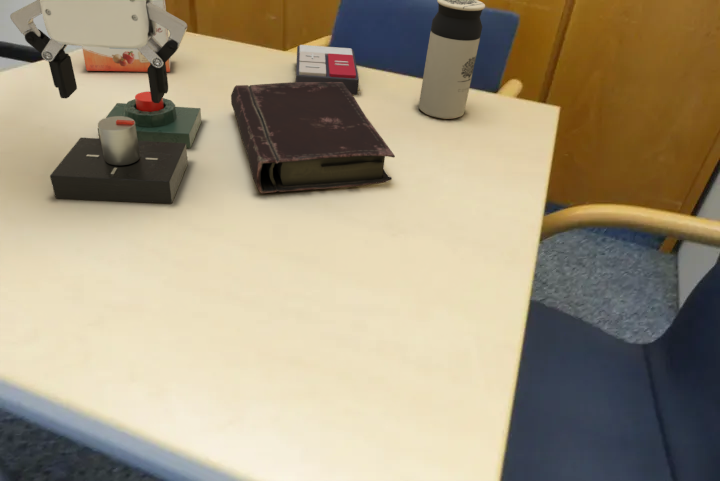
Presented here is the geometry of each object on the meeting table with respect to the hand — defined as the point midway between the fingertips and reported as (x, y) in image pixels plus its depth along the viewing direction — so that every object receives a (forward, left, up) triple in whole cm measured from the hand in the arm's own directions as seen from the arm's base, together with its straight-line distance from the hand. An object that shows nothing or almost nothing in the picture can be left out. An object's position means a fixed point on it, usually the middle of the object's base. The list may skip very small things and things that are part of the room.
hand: (114, 96), depth 62 cm
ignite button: (0, +14, -7) cm, 16 cm away
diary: (+22, +12, -11) cm, 27 cm away
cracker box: (-10, +40, -11) cm, 43 cm away
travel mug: (+45, +29, -11) cm, 54 cm away
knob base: (0, 0, -11) cm, 11 cm away
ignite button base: (0, +14, -11) cm, 18 cm away
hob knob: (0, 0, -8) cm, 8 cm away
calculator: (+25, +41, -11) cm, 49 cm away
